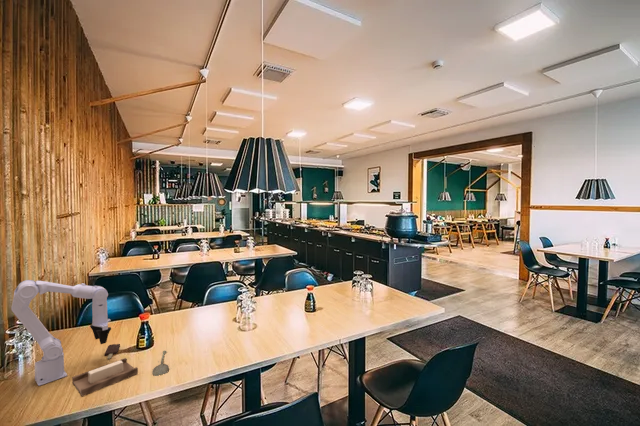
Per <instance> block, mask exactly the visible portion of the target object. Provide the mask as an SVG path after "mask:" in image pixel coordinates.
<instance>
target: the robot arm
mask: <svg viewBox="0 0 640 426" xmlns="http://www.w3.org/2000/svg"><path fill="white" fill-rule="evenodd" d="M13 292H14V293H13V297H12V298H13V299H12V303H11V307H10V309H11V312H12V313H13V314H14V316H15V317H16V318H17V319H18V320H19V322H21V323H20V324H22V325H23V326H24V328H25V329H26V330H27V331H28V332H29V334H30V335H31V336H32V338H33V339H34V340H35V341H36V342H37V344H38V345H39V349H41V351H42V354H43V356H42V357H41V359H40V360H38V361H35V362H34V381H35V382H36V385H37V386H38V387H40V386H43V385H46V384H49V383H51V382H54V381H57V380H59V379H63V378H66V377H67V376H68V374H67V372H66V371H65V359H64V358H65V355H64V349H63V348H64V347H62V341H61V340H60V339H59V338H56V337H55V336H53V334H52V333H50V332H49V330H48V329H47V328H46V326H45V325H44V324H43V322H41V320H40V319H39V317H37V315H36V314H35V312H34V311H33V309H32V308H31V307H30V304H31V302H32V300H33V299H34V298H35V297H36V296H37V295H38V293H39V296H40V295H43V294H46V293H48V292H51V293H59V294H70V295H71V296H72V297H73V298H79V299H85V300H87V299H88V300H91V299H92V303H91V310H92V323H91V324H90V325H89V327H90V329H91V330H92V333H93V336H94V339H95V340H99V344H100V345H104V344H106V343H107V342H108V336H109V334H110V332H111V330H112V327H111V326H109V325H108V324H109V322H111V319H110V318H108V301H107V300H108V299H107V298H108V296H109V293H108V290H107V289H106V288H104V287H103V286H101V285H87V284H86V283H83V282H82V283H79V284H76V285H69V284H68V285H67V284H62V283H57V282H51V281H45V280H33V279H26V280H22V281H20V283H19V284H18V285H17V287H16V288H15V289H14V291H13Z"/></svg>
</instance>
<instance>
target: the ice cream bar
mask: <svg viewBox="0 0 640 426" xmlns="http://www.w3.org/2000/svg"><path fill="white" fill-rule="evenodd" d="M120 348H121V344H120V343H113V344H109V345H107V348H106V349H105V352H104V357H107V360H111V359H112V358H113V355H117V354H118V353H119V351H120V350H119V349H120Z"/></svg>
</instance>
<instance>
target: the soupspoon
mask: <svg viewBox="0 0 640 426" xmlns="http://www.w3.org/2000/svg"><path fill="white" fill-rule="evenodd" d="M165 354H167V350H163V351H162V356H161V360H160V364H158V365H156V366H154V367H153V369H152V375H153V376H154V377H159V375H160V376H163V374H164V375H166V374H168V372H169V369H170V368H169V364H166V363H164V357H165Z"/></svg>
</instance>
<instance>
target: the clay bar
mask: <svg viewBox="0 0 640 426" xmlns="http://www.w3.org/2000/svg"><path fill="white" fill-rule="evenodd" d="M116 361H117V362H116ZM116 361H113V362H114V363H113V362H110V363H111V364H110V363H108V365H107V364H105V365H106V366H105V365H102V366H103V367H102V366H99V367H100V368H99V367H97V369H96V368H94V370H93V369H91V370H92V371H91V370H88V371H89V372H88V371H87V372H88V381H89V382H90V384H91V383H94V382H96V381H99V380H102V379H104V378H107V377H109V376H112V375H115V374H117V373H120V372H122V371H123V362H122V361H121V359H120V361H119V360H116Z"/></svg>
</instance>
